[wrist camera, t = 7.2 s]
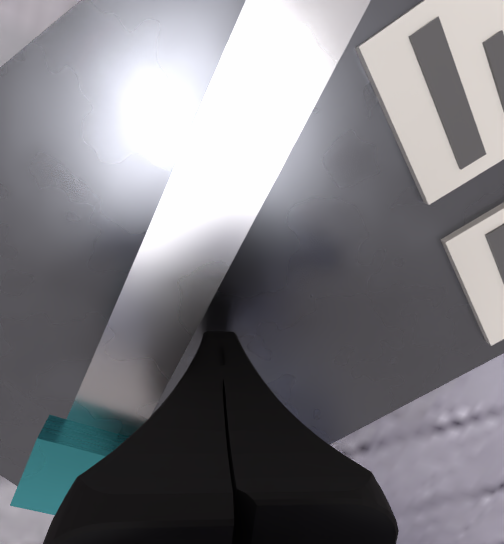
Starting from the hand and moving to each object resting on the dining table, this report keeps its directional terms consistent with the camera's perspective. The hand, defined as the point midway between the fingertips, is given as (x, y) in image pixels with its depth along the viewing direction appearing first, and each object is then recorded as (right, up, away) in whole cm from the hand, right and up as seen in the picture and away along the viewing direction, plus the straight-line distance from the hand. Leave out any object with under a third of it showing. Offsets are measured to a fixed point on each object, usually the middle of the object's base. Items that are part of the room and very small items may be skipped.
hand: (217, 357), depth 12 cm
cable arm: (-1, +4, -1) cm, 4 cm away
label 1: (+7, +9, -1) cm, 11 cm away
